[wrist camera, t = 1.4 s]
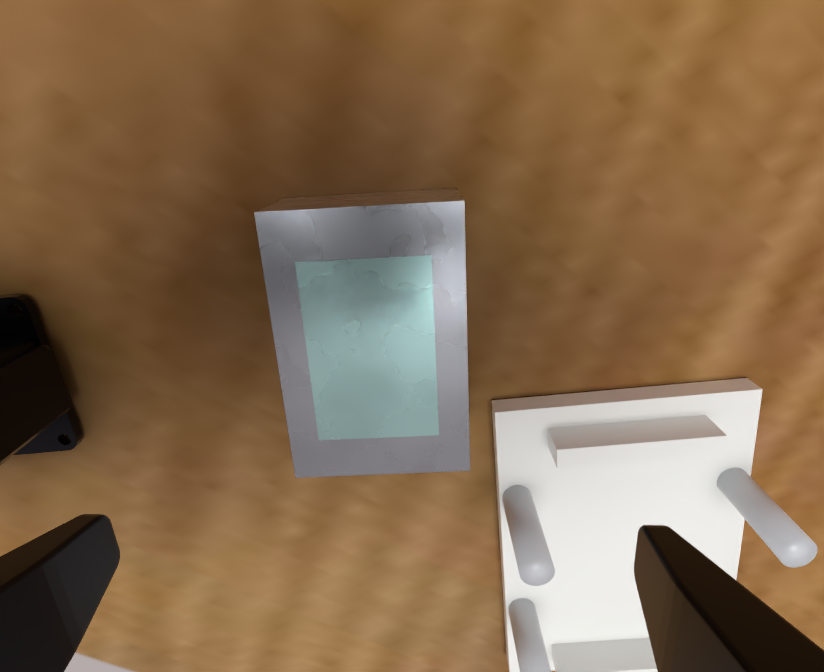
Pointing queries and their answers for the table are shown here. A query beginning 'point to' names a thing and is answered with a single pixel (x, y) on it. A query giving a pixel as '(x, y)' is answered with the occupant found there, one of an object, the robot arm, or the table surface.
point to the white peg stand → (619, 510)
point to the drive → (370, 329)
